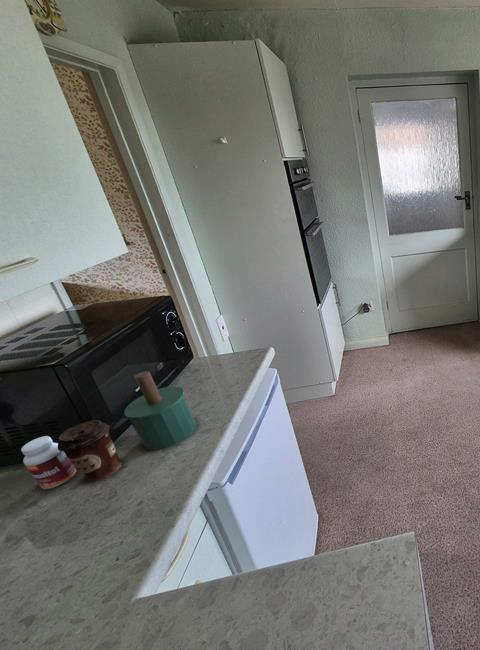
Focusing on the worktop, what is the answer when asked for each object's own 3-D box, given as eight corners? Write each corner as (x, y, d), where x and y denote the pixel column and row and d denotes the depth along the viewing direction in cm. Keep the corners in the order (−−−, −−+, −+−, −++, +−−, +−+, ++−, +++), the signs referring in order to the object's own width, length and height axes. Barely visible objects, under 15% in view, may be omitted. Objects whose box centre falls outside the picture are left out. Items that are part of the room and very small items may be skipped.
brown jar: (106, 487, 86) (78, 443, 80) (71, 489, 86) (41, 445, 81) (136, 458, 93) (113, 416, 88) (104, 459, 94) (79, 417, 89)
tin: (135, 455, 94) (117, 422, 90) (158, 425, 104) (142, 394, 100) (185, 445, 96) (169, 412, 92) (203, 417, 106) (189, 386, 102)
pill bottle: (35, 494, 85) (8, 458, 81) (50, 474, 91) (25, 439, 86) (70, 484, 87) (45, 447, 83) (82, 465, 93) (59, 430, 88)
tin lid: (114, 426, 90) (96, 394, 86) (142, 395, 101) (127, 365, 97) (172, 415, 92) (157, 383, 88) (193, 386, 103) (180, 357, 99)
